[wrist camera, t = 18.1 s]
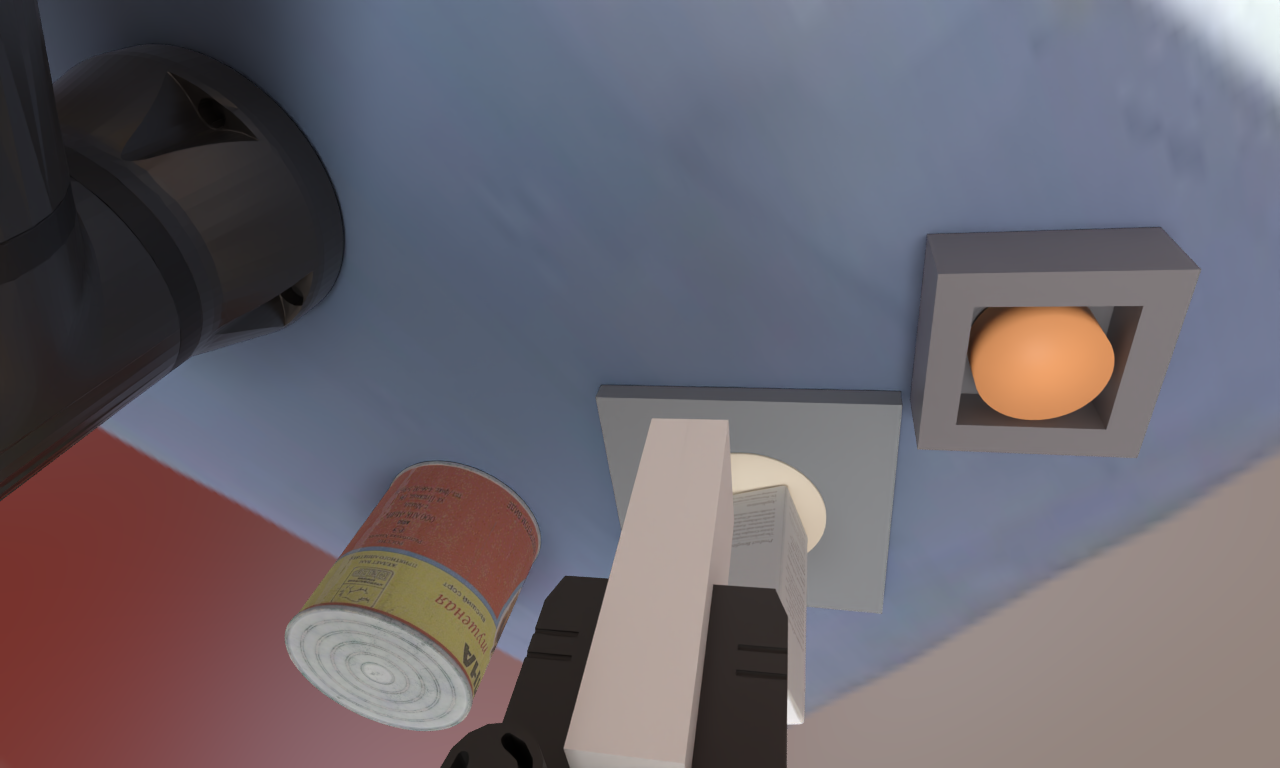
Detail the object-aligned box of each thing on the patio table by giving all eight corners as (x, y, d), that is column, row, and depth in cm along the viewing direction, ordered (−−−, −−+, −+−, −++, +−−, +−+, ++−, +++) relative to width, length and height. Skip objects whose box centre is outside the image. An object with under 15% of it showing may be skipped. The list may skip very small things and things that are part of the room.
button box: (910, 399, 36) (917, 449, 33) (927, 234, 32) (938, 274, 28) (1108, 404, 34) (1137, 457, 31) (1160, 227, 29) (1200, 269, 26)
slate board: (636, 576, 49) (632, 592, 48) (601, 385, 40) (594, 399, 39) (880, 598, 45) (882, 616, 44) (900, 391, 36) (902, 407, 35)
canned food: (504, 598, 54) (434, 752, 44) (371, 526, 52) (268, 669, 43) (567, 518, 47) (500, 679, 38) (416, 433, 46) (306, 578, 36)
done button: (959, 388, 34) (966, 418, 32) (974, 290, 31) (983, 315, 29) (1082, 391, 32) (1098, 422, 30) (1110, 288, 29) (1129, 315, 28)
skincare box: (715, 548, 44) (682, 737, 34) (687, 495, 42) (644, 680, 32) (813, 534, 41) (808, 733, 32) (789, 477, 39) (775, 671, 30)
